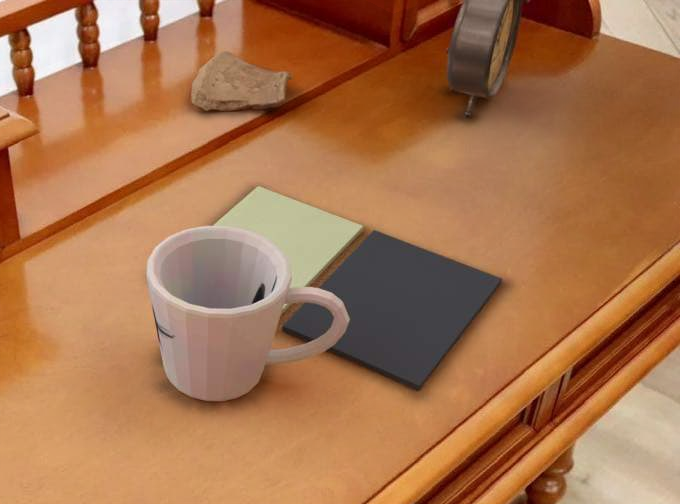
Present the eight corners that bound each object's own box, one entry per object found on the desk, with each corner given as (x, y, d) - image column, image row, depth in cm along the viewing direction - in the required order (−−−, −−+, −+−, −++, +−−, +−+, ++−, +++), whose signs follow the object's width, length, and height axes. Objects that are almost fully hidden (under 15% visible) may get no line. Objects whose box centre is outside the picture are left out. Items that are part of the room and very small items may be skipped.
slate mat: (501, 284, 92) (502, 278, 92) (418, 391, 83) (419, 386, 82) (372, 234, 98) (373, 229, 97) (281, 331, 88) (282, 325, 88)
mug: (158, 317, 89) (159, 216, 83) (342, 340, 87) (359, 238, 80) (134, 406, 82) (133, 303, 75) (335, 433, 80) (352, 330, 73)
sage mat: (362, 231, 98) (363, 225, 98) (270, 326, 89) (271, 320, 88) (257, 190, 103) (258, 185, 102) (159, 277, 93) (159, 271, 93)
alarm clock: (479, 127, 111) (515, -30, 100) (427, 113, 113) (457, -41, 102) (509, 80, 118) (546, -70, 107) (460, 69, 120) (491, -80, 109)
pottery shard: (189, 123, 114) (282, 116, 111) (181, 83, 112) (276, 75, 108) (215, 80, 122) (303, 72, 119) (208, 43, 120) (297, 33, 116)
